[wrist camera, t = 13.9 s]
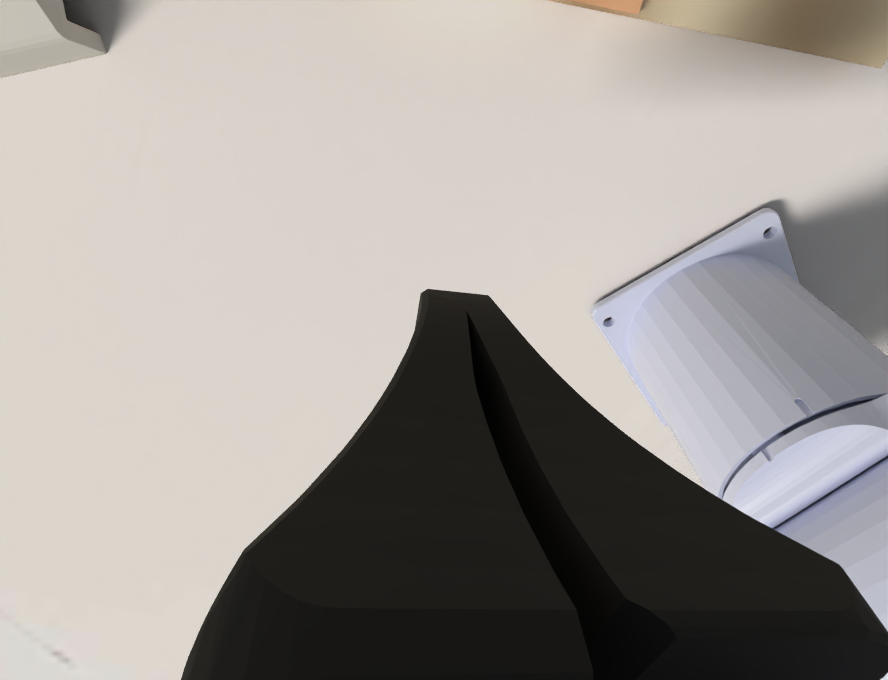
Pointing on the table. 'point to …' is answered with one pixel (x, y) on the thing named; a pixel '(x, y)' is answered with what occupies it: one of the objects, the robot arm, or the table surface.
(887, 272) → the table surface
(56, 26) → the grey rounded block
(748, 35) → the rail
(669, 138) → the table surface
